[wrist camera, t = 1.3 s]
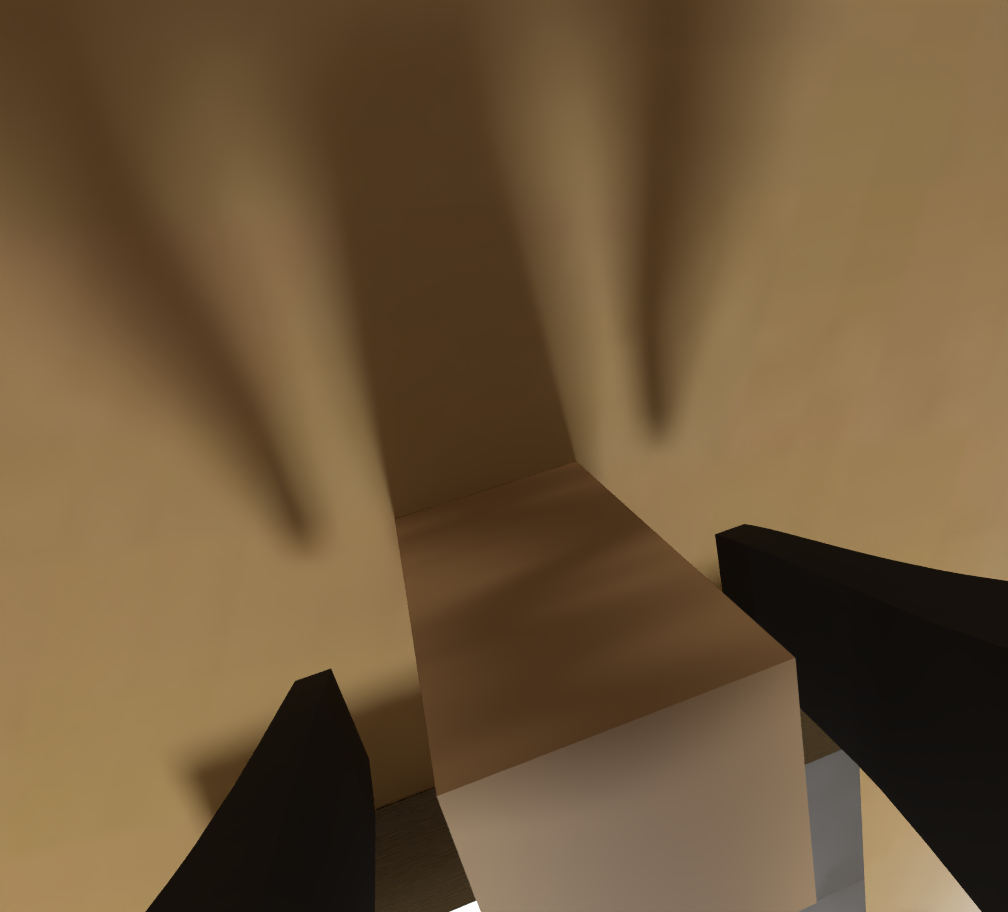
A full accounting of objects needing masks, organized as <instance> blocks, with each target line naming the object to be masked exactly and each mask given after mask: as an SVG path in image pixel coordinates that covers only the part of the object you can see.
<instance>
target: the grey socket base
mask: <svg viewBox="0 0 1008 912" xmlns="http://www.w3.org/2000/svg"><path fill="white" fill-rule="evenodd" d="M800 717H801V728H802V740H803V751H804V763H805V774H806V786H807V797H808V809H809V820H810V832H811V844H812V855H813V867H814V878H815V890H816V901H817V903H816V904H813V905H811V906H809V907H807V908H805V909H802V910H800V911H798V912H866V907H865V884H864V862H863V840H862V818H861V796H860V773H859V766H858V765H857V764H856V763H855V762H854V761H853V760H852V759H851V758H850V757H849V756H848V755H847V754H846V753H845V752H844V751H843V750H842V749H841V748H840V747H839V746H838V745H837V744H836V743H835V742H834V741H833V740H832V739H831V738H830V737H829V736H828V735H827V734H826V733H825V732H824V731H823V730H822V729H821V728H820V727H819V726H818V725H817V724H816V723H815V722H814V721H813V720H812V719H811V718H809V717H808V716H807V715H806V714H805V713H804V712H803V711H802V710H801V709H800ZM375 818H376V848H375V912H480V909H479V907H478V904H477V901H476V899H475V896H474V894H473V891H472V888H471V886H470V883H469V880H468V878H467V875H466V872H465V870H464V867H463V865H462V862H461V859H460V857H459V854H458V851H457V849H456V846H455V843H454V841H453V838H452V835H451V833H450V830H449V828H448V825H447V822H446V820H445V817H444V814H443V812H442V809H441V806H440V804H439V801H438V799H437V795H436V788H433V789H430V790H428V791H425V792H422V793H420V794H417V795H415V796H412V797H409V798H407V799H404V800H402V801H399V802H396V803H394V804H391V805H389V806H386V807H383V808H381V809H378V810H376V811H375Z"/></svg>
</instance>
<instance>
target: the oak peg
mask: <svg viewBox="0 0 1008 912" xmlns="http://www.w3.org/2000/svg"><path fill="white" fill-rule="evenodd" d="M395 523H396V529H397V536H398V543H399V549H400V556H401V563H402V569H403V576H404V582H405V589H406V596H407V602H408V609H409V616H410V622H411V629H412V636H413V642H414V649H415V656H416V662H417V669H418V676H419V682H420V689H421V695H422V702H423V709H424V715H425V722H426V729H427V735H428V742H429V749H430V755H431V762H432V769H433V775H434V782H435V788H436V795H437V799H438V801H439V804H440V806H441V809H442V812H443V814H444V817H445V820H446V822H447V825H448V828H449V830H450V833H451V835H452V838H453V841H454V843H455V846H456V849H457V851H458V854H459V857H460V859H461V862H462V865H463V867H464V870H465V872H466V875H467V878H468V880H469V883H470V886H471V888H472V891H473V894H474V896H475V899H476V901H477V904H478V907H479V909H480V912H798V911H800V910H802V909H805V908H807V907H809V906H811V905H813V904H816V903H817V901H816V890H815V878H814V867H813V855H812V844H811V832H810V820H809V809H808V797H807V786H806V774H805V763H804V751H803V740H802V728H801V717H800V705H799V694H798V682H797V671H796V659H795V657H794V656H793V655H792V654H791V653H789V652H788V651H787V650H786V649H785V648H784V647H783V646H782V645H780V644H779V643H778V642H777V641H776V640H775V639H774V638H773V637H772V636H770V635H769V634H768V633H767V632H766V631H765V630H764V629H763V628H762V627H760V626H759V625H758V624H757V623H756V622H755V621H754V620H753V619H751V618H750V617H749V616H748V615H747V614H746V613H745V612H744V611H743V610H741V609H740V608H739V607H738V606H737V605H736V604H735V603H734V602H733V601H731V600H730V599H729V598H728V597H727V596H726V595H725V594H724V593H722V592H721V591H720V590H719V589H718V588H717V587H716V586H715V585H714V584H712V583H711V582H710V581H709V580H708V579H707V578H706V577H705V576H703V575H702V574H701V573H700V572H699V571H698V570H697V569H696V568H695V567H693V566H692V565H691V564H690V563H689V562H688V561H687V560H686V559H685V558H683V557H682V556H681V555H680V554H679V553H678V552H677V551H676V550H674V549H673V548H672V547H671V546H670V545H669V544H668V543H667V542H666V541H664V540H663V539H662V538H661V537H660V536H659V535H658V534H657V533H656V532H654V531H653V530H652V529H651V528H650V527H649V526H648V525H647V524H645V523H644V522H643V521H642V520H641V519H640V518H639V517H638V516H637V515H635V514H634V513H633V512H632V511H631V510H630V509H629V508H628V507H626V506H625V505H624V504H623V503H622V502H621V501H620V500H619V499H618V498H616V497H615V496H614V495H613V494H612V493H611V492H610V491H609V490H608V489H606V488H605V487H604V486H603V485H602V484H601V483H600V482H599V481H597V480H596V479H595V478H594V477H593V476H592V475H591V474H590V473H589V472H587V471H586V470H585V469H584V468H583V467H582V466H581V465H580V464H579V463H577V462H573V463H569V464H566V465H563V466H560V467H557V468H554V469H551V470H547V471H544V472H541V473H538V474H535V475H532V476H529V477H525V478H522V479H519V480H516V481H513V482H510V483H507V484H503V485H500V486H497V487H494V488H491V489H488V490H485V491H481V492H478V493H475V494H472V495H469V496H466V497H463V498H459V499H456V500H453V501H450V502H447V503H444V504H441V505H437V506H434V507H431V508H428V509H425V510H422V511H419V512H415V513H412V514H409V515H406V516H403V517H400V518H397V519H395Z"/></svg>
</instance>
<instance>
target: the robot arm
mask: <svg viewBox="0 0 1008 912" xmlns="http://www.w3.org/2000/svg"><path fill="white" fill-rule="evenodd" d="M715 537H716V545H717V553H718V560H719V568H720V575H721V583H722V591H723V593H724V594H725V595H726V596H727V597H728V598H729V599H730V600H731V601H733V602H734V603H735V604H736V605H737V606H738V607H739V608H740V609H741V610H743V611H744V612H745V613H746V614H747V615H748V616H749V617H750V618H751V619H753V620H754V621H755V622H756V623H757V624H758V625H759V626H760V627H762V628H763V629H764V630H765V631H766V632H767V633H768V634H769V635H770V636H772V637H773V638H774V639H775V640H776V641H777V642H778V643H779V644H780V645H782V646H783V647H784V648H785V649H786V650H787V651H788V652H789V653H791V654H792V655H793V656H794V657H795V659H796V671H797V682H798V694H799V705H800V709H801V710H802V711H803V712H804V713H805V714H806V715H807V716H808V717H809V718H811V719H812V720H813V721H814V722H815V723H816V724H817V725H818V726H819V727H820V728H821V729H822V730H823V731H824V732H825V733H826V734H827V735H828V736H829V737H830V738H831V739H832V740H833V741H834V742H835V743H836V744H837V745H838V746H839V747H840V748H841V749H842V750H843V751H844V752H845V753H846V754H847V755H848V756H849V757H850V758H851V759H852V760H853V761H854V762H855V763H856V764H857V765H858V766H859V767H860V768H861V769H862V770H863V771H864V772H865V773H866V774H867V775H868V776H869V777H870V779H871V780H872V781H873V782H874V783H875V784H876V785H877V786H878V787H879V788H880V789H881V790H882V791H883V793H884V794H885V795H886V796H887V797H888V798H889V800H890V801H891V802H892V803H893V804H894V806H895V807H896V808H897V809H898V810H899V811H900V813H901V814H902V815H903V816H904V817H905V819H906V820H907V821H908V822H909V823H910V824H911V826H912V827H913V828H914V829H915V830H916V832H917V833H918V834H919V835H920V836H921V837H922V839H923V840H924V841H925V842H926V843H927V845H928V846H929V847H930V848H931V849H932V851H933V852H934V853H935V854H936V856H937V857H938V858H939V859H940V861H941V862H942V863H943V864H944V866H945V867H946V868H947V869H948V871H949V872H950V873H951V874H952V875H953V877H954V878H955V879H956V880H957V882H958V883H959V884H960V885H961V887H962V888H963V889H964V890H965V892H966V893H967V894H968V895H969V897H970V898H971V899H972V900H973V901H974V903H975V904H976V905H977V906H978V908H979V909H980V910H981V911H982V912H1008V581H1004V580H997V579H991V578H984V577H977V576H971V575H964V574H959V573H953V572H947V571H942V570H937V569H932V568H927V567H922V566H918V565H913V564H908V563H903V562H899V561H894V560H890V559H885V558H881V557H877V556H873V555H868V554H864V553H860V552H856V551H852V550H848V549H844V548H841V547H837V546H833V545H829V544H825V543H821V542H818V541H814V540H810V539H806V538H802V537H799V536H795V535H791V534H787V533H783V532H779V531H775V530H771V529H767V528H763V527H758V526H753V525H747V524H743V525H741V526H738V527H735V528H732V529H729V530H726V531H723V532H721V533H718V534H715ZM375 848H376V818H375V808H374V798H373V789H372V780H371V772H370V763H369V758H368V755H367V753H366V751H365V748H364V746H363V743H362V741H361V739H360V736H359V734H358V732H357V729H356V727H355V724H354V722H353V720H352V717H351V715H350V713H349V710H348V708H347V705H346V703H345V701H344V698H343V696H342V694H341V691H340V689H339V686H338V684H337V682H336V679H335V677H334V675H333V672H332V670H331V669H328V670H326V671H323V672H320V673H317V674H314V675H311V676H308V677H305V678H303V679H300V680H297V681H295V682H294V684H293V686H292V687H291V689H290V691H289V692H288V694H287V696H286V698H285V699H284V701H283V703H282V704H281V706H280V708H279V710H278V711H277V713H276V715H275V717H274V718H273V720H272V722H271V724H270V725H269V727H268V729H267V731H266V732H265V734H264V736H263V738H262V739H261V741H260V743H259V745H258V746H257V748H256V750H255V751H254V753H253V755H252V756H251V758H250V760H249V761H248V763H247V765H246V766H245V768H244V770H243V771H242V773H241V775H240V776H239V778H238V780H237V782H236V783H235V785H234V786H233V788H232V790H231V791H230V793H229V794H228V796H227V797H226V799H225V800H224V802H223V803H222V805H221V806H220V808H219V809H218V811H217V812H216V814H215V815H214V817H213V818H212V820H211V822H210V823H209V825H208V826H207V828H206V829H205V831H204V832H203V834H202V835H201V837H200V838H199V840H198V841H197V843H196V844H195V846H194V847H193V849H192V850H191V851H190V853H189V854H188V856H187V857H186V859H185V860H184V861H183V863H182V864H181V865H180V867H179V868H178V870H177V871H176V872H175V874H174V875H173V876H172V878H171V879H170V881H169V882H168V883H167V884H166V886H165V887H164V888H163V890H162V891H161V892H160V894H159V895H158V896H157V897H156V899H155V900H154V901H153V903H152V904H151V905H150V907H149V908H148V909H147V910H146V912H375Z"/></svg>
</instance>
